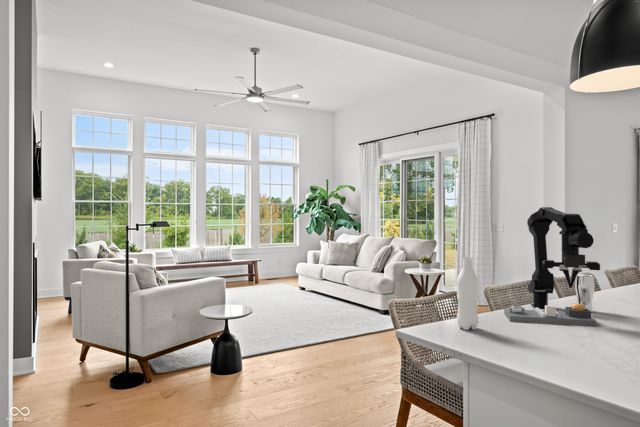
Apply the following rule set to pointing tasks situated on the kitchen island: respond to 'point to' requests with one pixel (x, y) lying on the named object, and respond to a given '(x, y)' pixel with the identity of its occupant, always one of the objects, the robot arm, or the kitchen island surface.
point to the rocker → (516, 307)
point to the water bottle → (467, 296)
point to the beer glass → (585, 290)
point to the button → (578, 307)
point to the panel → (561, 317)
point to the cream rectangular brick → (550, 311)
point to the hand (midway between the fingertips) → (570, 287)
